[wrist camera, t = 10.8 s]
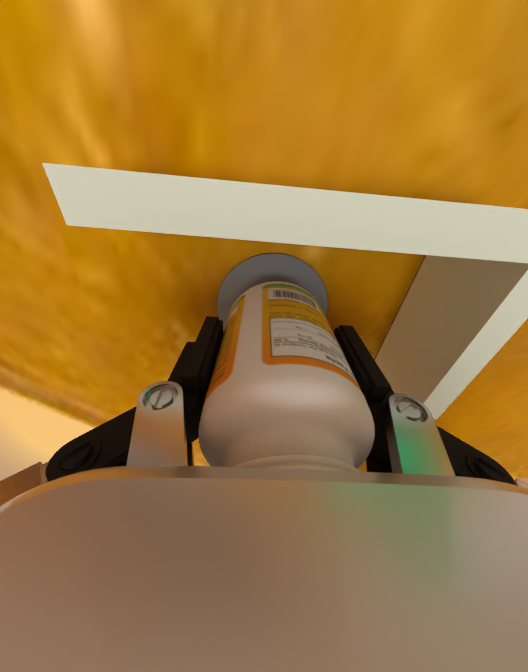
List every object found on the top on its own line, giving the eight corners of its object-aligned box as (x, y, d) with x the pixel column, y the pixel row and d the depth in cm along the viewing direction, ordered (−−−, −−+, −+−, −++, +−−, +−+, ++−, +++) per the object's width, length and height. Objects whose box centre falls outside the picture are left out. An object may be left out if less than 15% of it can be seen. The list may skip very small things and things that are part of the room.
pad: (313, 354, 16) (314, 356, 16) (219, 348, 16) (219, 351, 15) (340, 258, 12) (341, 259, 12) (214, 247, 12) (213, 249, 11)
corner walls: (393, 361, 16) (437, 419, 12) (171, 348, 16) (139, 405, 12) (480, 205, 11) (617, 217, 7) (134, 172, 10) (42, 163, 6)
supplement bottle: (253, 369, 14) (240, 597, 6) (210, 302, 12) (89, 558, 4) (333, 342, 13) (440, 585, 5) (305, 260, 10) (446, 510, 2)
